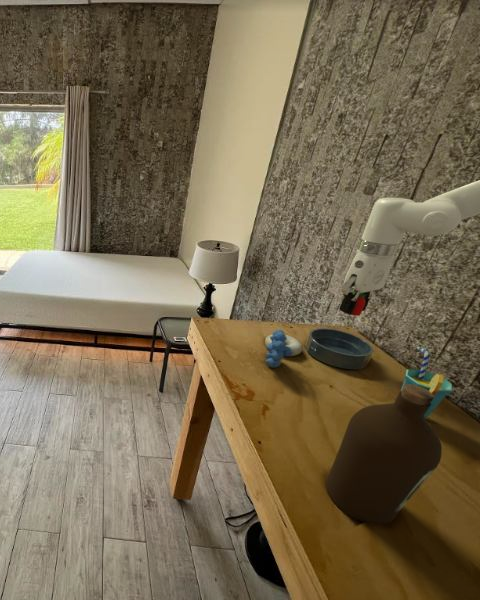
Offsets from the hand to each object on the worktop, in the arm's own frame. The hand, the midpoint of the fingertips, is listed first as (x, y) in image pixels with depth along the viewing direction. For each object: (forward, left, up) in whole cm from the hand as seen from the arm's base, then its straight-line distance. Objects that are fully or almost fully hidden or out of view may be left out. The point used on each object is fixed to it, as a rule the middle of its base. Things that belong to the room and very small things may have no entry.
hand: (351, 309), depth 90 cm
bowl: (0, 0, -16) cm, 16 cm away
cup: (+8, +22, -16) cm, 28 cm away
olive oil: (+41, +32, -16) cm, 54 cm away
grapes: (+22, -2, -16) cm, 27 cm away
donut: (+12, -8, -16) cm, 21 cm away
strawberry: (0, 0, -1) cm, 1 cm away
